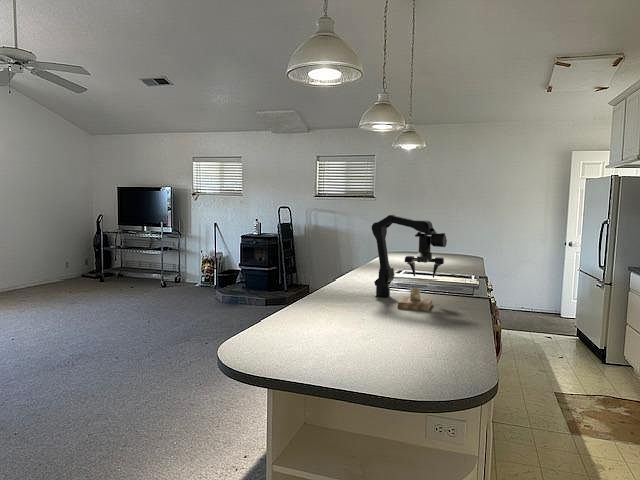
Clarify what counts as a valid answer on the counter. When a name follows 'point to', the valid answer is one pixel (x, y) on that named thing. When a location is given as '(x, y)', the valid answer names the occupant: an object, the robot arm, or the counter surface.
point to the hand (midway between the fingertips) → (423, 277)
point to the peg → (415, 294)
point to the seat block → (415, 304)
